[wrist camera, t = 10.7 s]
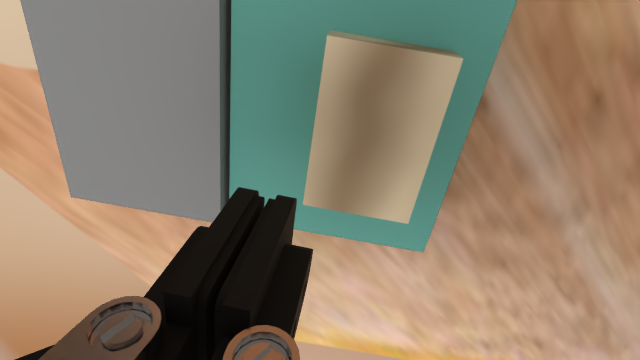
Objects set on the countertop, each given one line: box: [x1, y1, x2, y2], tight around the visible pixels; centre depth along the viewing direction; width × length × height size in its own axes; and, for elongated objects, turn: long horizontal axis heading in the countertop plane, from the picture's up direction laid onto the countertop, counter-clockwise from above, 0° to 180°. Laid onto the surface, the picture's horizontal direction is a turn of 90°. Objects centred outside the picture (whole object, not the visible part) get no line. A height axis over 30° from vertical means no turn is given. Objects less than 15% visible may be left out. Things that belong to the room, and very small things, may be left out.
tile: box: [303, 30, 463, 224], centre depth 18 cm, size 6×9×2 cm, turn 172°
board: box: [20, 0, 231, 222], centre depth 19 cm, size 10×18×2 cm, turn 172°
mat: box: [229, 0, 517, 252], centre depth 19 cm, size 13×18×1 cm
